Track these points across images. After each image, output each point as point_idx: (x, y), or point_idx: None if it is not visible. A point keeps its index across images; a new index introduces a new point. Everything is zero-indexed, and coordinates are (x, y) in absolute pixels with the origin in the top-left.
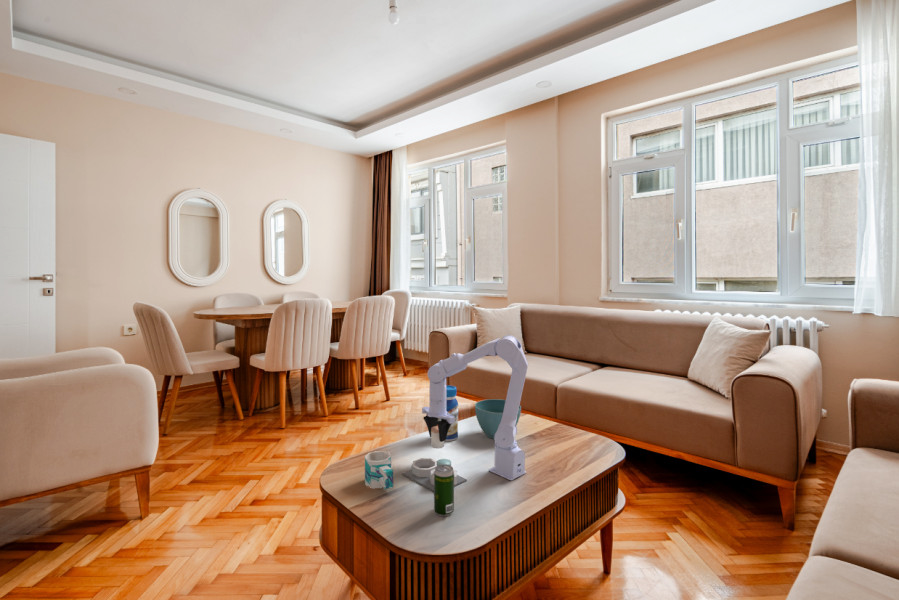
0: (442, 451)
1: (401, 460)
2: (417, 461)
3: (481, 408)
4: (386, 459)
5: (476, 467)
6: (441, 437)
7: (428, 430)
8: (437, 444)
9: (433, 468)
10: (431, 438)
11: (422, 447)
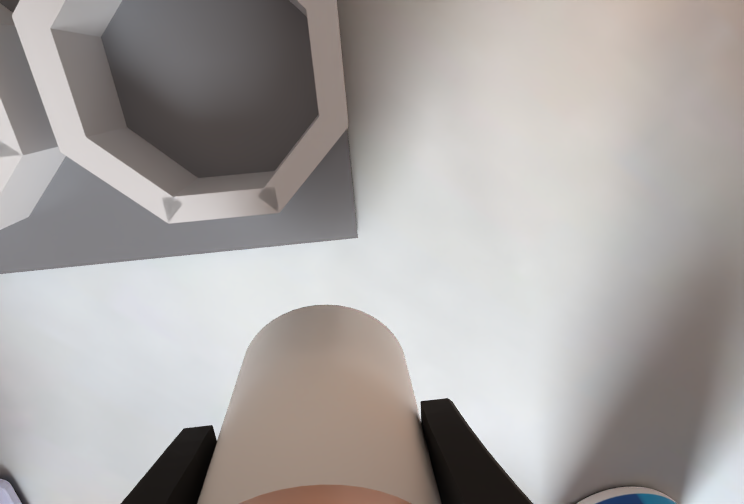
0: (469, 409)
1: (588, 48)
2: (312, 47)
3: None
4: None
5: (102, 446)
6: (138, 495)
7: (502, 473)
8: (246, 367)
9: (46, 94)
10: (355, 379)
11: (633, 338)
